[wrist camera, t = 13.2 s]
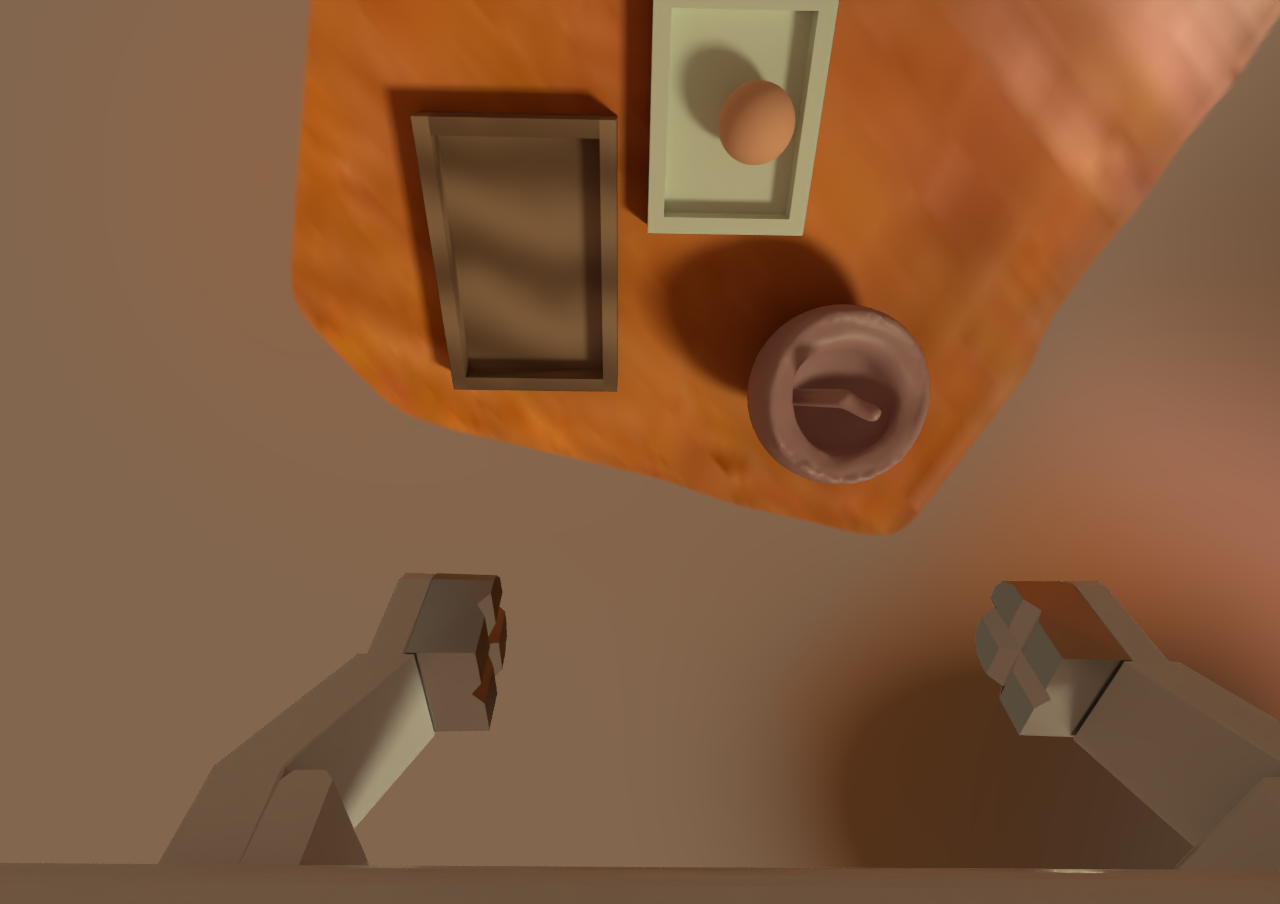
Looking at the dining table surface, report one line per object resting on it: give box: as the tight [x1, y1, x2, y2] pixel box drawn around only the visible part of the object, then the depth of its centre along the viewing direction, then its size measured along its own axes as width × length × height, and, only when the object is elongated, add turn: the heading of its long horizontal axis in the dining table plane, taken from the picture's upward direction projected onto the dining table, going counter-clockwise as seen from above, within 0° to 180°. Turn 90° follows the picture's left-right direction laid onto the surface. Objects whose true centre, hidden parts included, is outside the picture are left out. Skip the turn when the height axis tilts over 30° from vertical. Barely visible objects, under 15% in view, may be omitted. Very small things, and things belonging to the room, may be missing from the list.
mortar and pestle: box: [747, 304, 930, 484], centre depth 44 cm, size 12×12×12 cm
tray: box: [647, 0, 839, 236], centre depth 39 cm, size 13×10×2 cm
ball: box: [718, 80, 795, 165], centre depth 38 cm, size 4×4×4 cm
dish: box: [411, 112, 618, 392], centre depth 44 cm, size 18×12×2 cm, turn 179°
